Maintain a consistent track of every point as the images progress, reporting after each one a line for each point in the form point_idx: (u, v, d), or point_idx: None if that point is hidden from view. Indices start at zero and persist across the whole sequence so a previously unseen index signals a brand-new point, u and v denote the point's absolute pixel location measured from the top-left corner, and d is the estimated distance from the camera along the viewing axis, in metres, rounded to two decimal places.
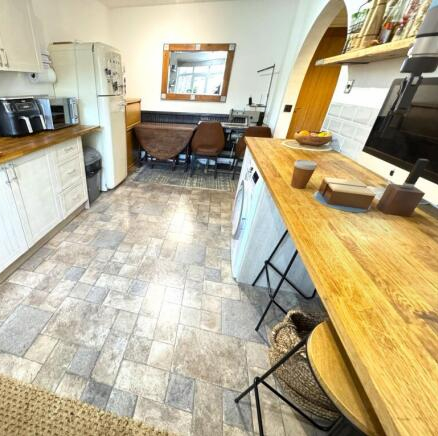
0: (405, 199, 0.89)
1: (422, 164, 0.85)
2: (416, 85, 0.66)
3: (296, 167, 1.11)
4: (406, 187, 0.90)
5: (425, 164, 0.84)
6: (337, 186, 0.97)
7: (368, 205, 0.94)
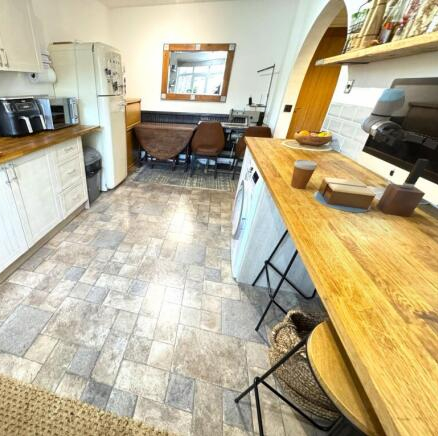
0: (405, 199, 0.89)
1: (422, 164, 0.85)
2: (376, 131, 1.02)
3: (296, 167, 1.11)
4: (406, 187, 0.90)
5: (425, 164, 0.84)
6: (337, 186, 0.97)
7: (368, 205, 0.94)
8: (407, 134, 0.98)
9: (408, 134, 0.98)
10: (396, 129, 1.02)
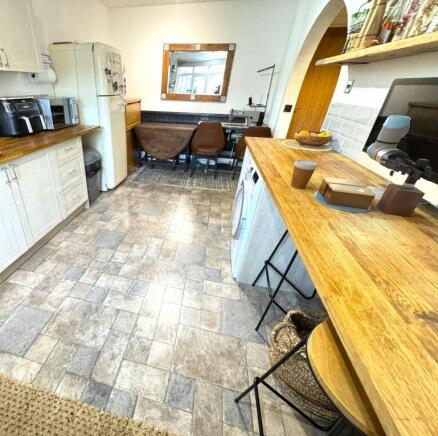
0: (405, 199, 0.89)
1: (422, 164, 0.85)
2: (386, 161, 0.95)
3: (296, 167, 1.11)
4: (406, 187, 0.90)
5: (425, 164, 0.84)
6: (337, 186, 0.97)
7: (368, 205, 0.94)
8: (414, 163, 0.93)
9: (409, 163, 0.93)
10: (402, 157, 0.97)
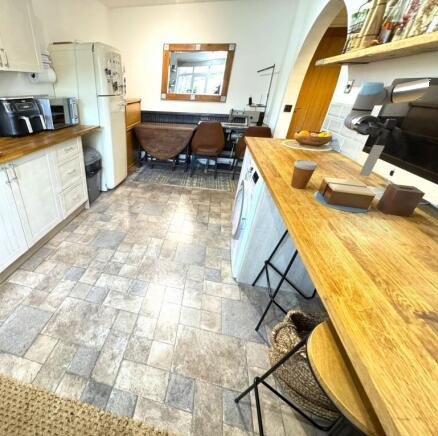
0: (405, 199, 0.89)
1: (390, 124, 0.85)
2: (358, 125, 0.95)
3: (296, 167, 1.11)
4: (376, 149, 0.90)
5: (393, 124, 0.84)
6: (337, 186, 0.97)
7: (368, 205, 0.94)
8: None
9: (380, 126, 0.92)
10: (375, 122, 0.97)
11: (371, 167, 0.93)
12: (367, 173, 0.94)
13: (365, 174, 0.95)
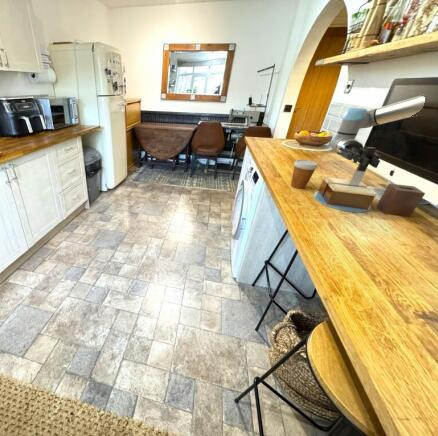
0: (405, 199, 0.89)
1: (370, 152, 0.91)
2: (342, 150, 1.01)
3: (296, 167, 1.11)
4: (358, 174, 0.96)
5: (373, 152, 0.90)
6: (337, 186, 0.97)
7: (368, 205, 0.94)
8: None
9: (362, 152, 0.98)
10: (358, 147, 1.03)
11: None
12: None
13: None
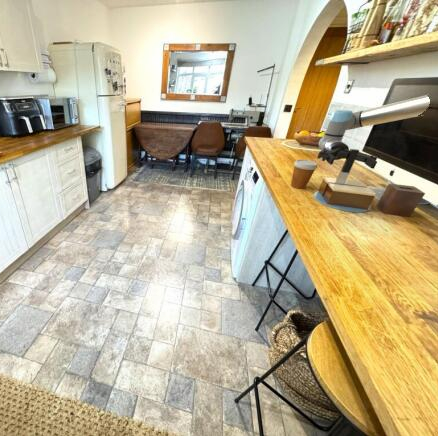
0: (405, 199, 0.89)
1: (353, 154, 0.93)
2: None
3: (296, 167, 1.11)
4: (342, 175, 0.98)
5: (356, 154, 0.92)
6: (337, 186, 0.97)
7: (368, 205, 0.94)
8: None
9: None
10: (344, 148, 1.05)
11: None
12: None
13: None
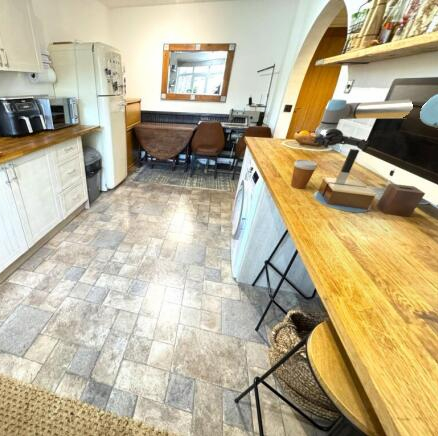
0: (405, 199, 0.89)
1: (353, 154, 0.93)
2: None
3: (296, 167, 1.11)
4: (342, 175, 0.98)
5: (356, 154, 0.92)
6: (337, 186, 0.97)
7: (368, 205, 0.94)
8: (345, 138, 1.09)
9: (346, 138, 1.08)
10: (338, 134, 1.13)
11: None
12: None
13: None
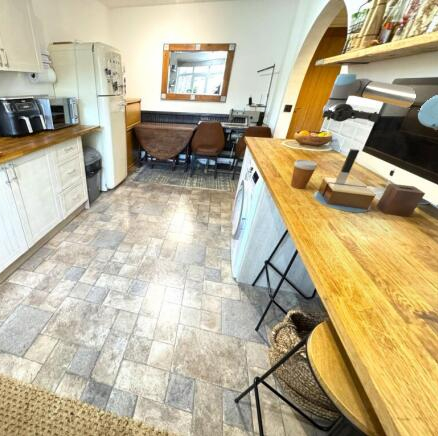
0: (405, 199, 0.89)
1: (353, 154, 0.93)
2: None
3: (296, 167, 1.11)
4: (342, 175, 0.98)
5: (356, 154, 0.92)
6: (337, 186, 0.97)
7: (368, 205, 0.94)
8: (356, 112, 1.04)
9: (356, 112, 1.03)
10: None
11: None
12: None
13: None
